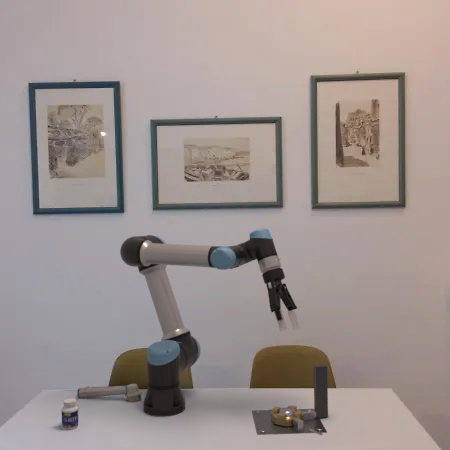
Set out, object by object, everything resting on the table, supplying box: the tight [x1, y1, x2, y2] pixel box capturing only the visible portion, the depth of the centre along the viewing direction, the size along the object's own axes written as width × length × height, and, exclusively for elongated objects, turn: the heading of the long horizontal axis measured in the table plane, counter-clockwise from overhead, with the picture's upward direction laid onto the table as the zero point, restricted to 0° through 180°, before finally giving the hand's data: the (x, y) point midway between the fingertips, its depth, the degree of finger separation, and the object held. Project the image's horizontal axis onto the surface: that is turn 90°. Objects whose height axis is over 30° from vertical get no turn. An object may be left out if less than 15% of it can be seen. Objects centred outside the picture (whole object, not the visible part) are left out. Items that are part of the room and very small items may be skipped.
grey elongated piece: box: [76, 383, 142, 403], centre depth 192 cm, size 5×7×25 cm
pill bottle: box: [61, 397, 79, 431], centre depth 166 cm, size 5×5×9 cm
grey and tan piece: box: [271, 364, 329, 427], centre depth 166 cm, size 19×10×17 cm, turn 102°
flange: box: [251, 406, 328, 436], centre depth 165 cm, size 22×22×4 cm
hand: (291, 329), depth 171 cm, fingers open, 13 cm apart
